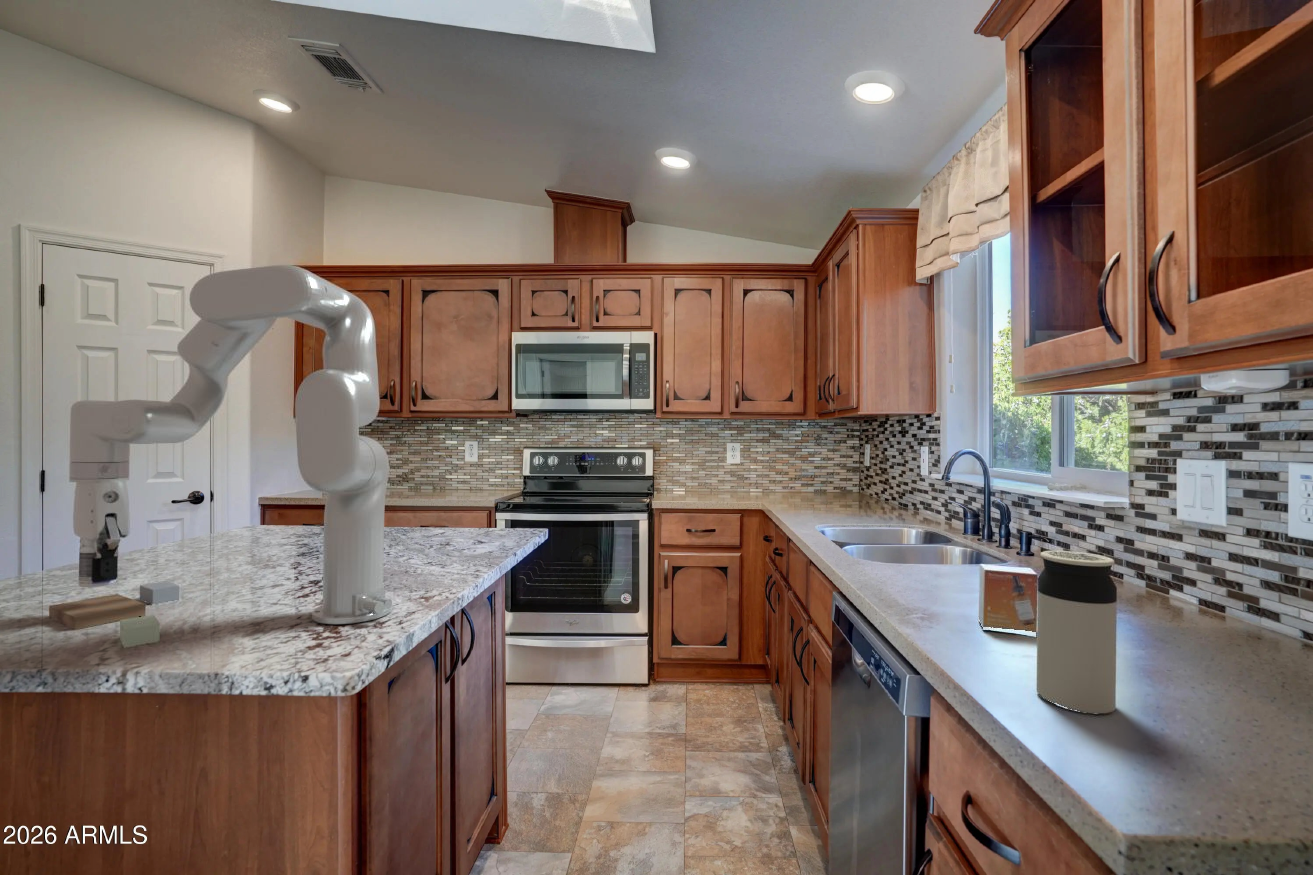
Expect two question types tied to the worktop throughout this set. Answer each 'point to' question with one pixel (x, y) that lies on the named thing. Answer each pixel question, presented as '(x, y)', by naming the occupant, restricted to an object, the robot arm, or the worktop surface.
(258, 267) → the robot arm
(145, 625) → the sage brick
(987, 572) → the small box
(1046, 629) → the travel mug
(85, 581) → the pill bottle
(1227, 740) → the worktop surface
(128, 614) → the walnut block
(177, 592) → the grey brick
